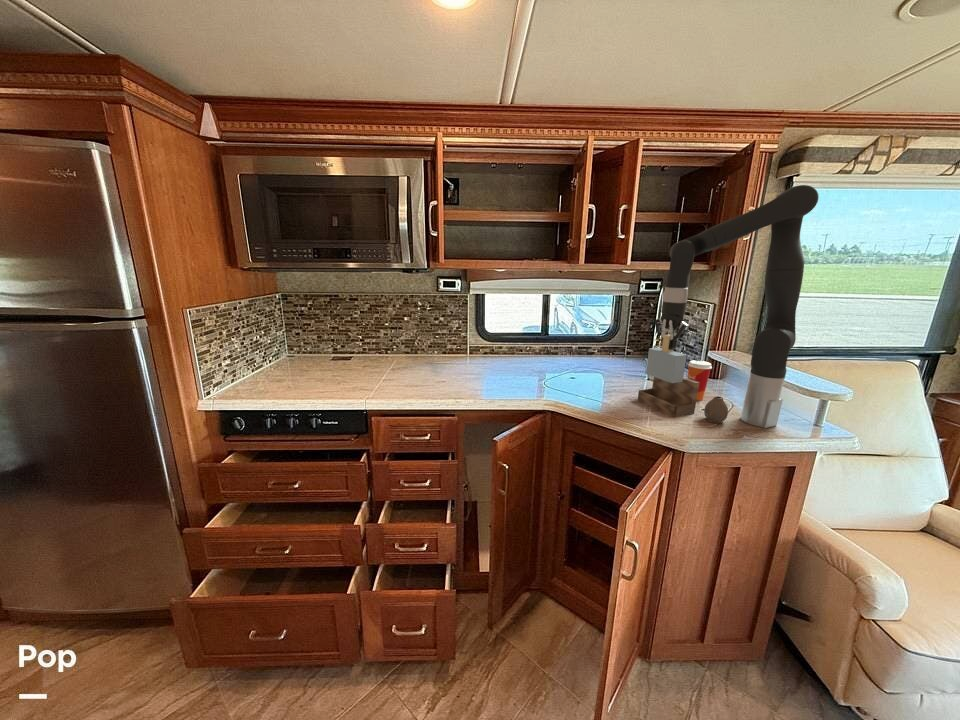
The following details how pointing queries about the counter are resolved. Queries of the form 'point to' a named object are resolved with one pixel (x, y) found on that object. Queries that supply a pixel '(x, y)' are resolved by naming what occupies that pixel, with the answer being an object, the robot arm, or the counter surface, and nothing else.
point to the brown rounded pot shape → (716, 410)
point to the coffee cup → (699, 375)
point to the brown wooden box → (671, 396)
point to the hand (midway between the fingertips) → (667, 348)
